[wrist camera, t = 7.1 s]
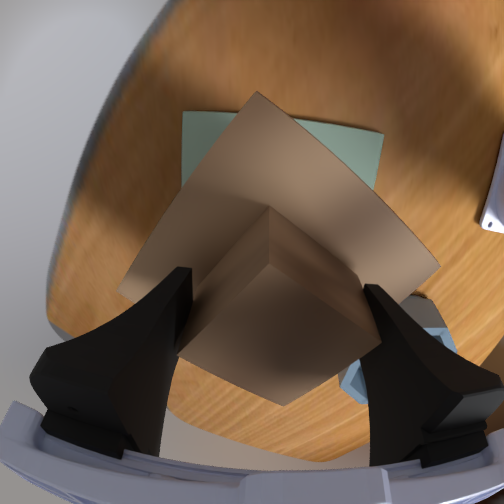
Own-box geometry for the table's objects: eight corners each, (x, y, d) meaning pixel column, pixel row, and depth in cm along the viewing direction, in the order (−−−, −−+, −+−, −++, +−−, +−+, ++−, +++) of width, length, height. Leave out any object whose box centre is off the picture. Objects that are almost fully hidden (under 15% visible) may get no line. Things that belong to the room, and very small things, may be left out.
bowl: (454, 296, 23) (473, 326, 20) (413, 369, 28) (423, 399, 25) (355, 291, 23) (367, 326, 20) (325, 371, 28) (330, 404, 25)
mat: (381, 133, 17) (384, 134, 17) (343, 290, 23) (344, 295, 23) (185, 110, 17) (182, 111, 17) (186, 276, 23) (184, 280, 23)
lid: (432, 255, 13) (480, 324, 9) (285, 373, 18) (287, 445, 14) (256, 90, 10) (248, 94, 6) (123, 279, 15) (82, 349, 11)
